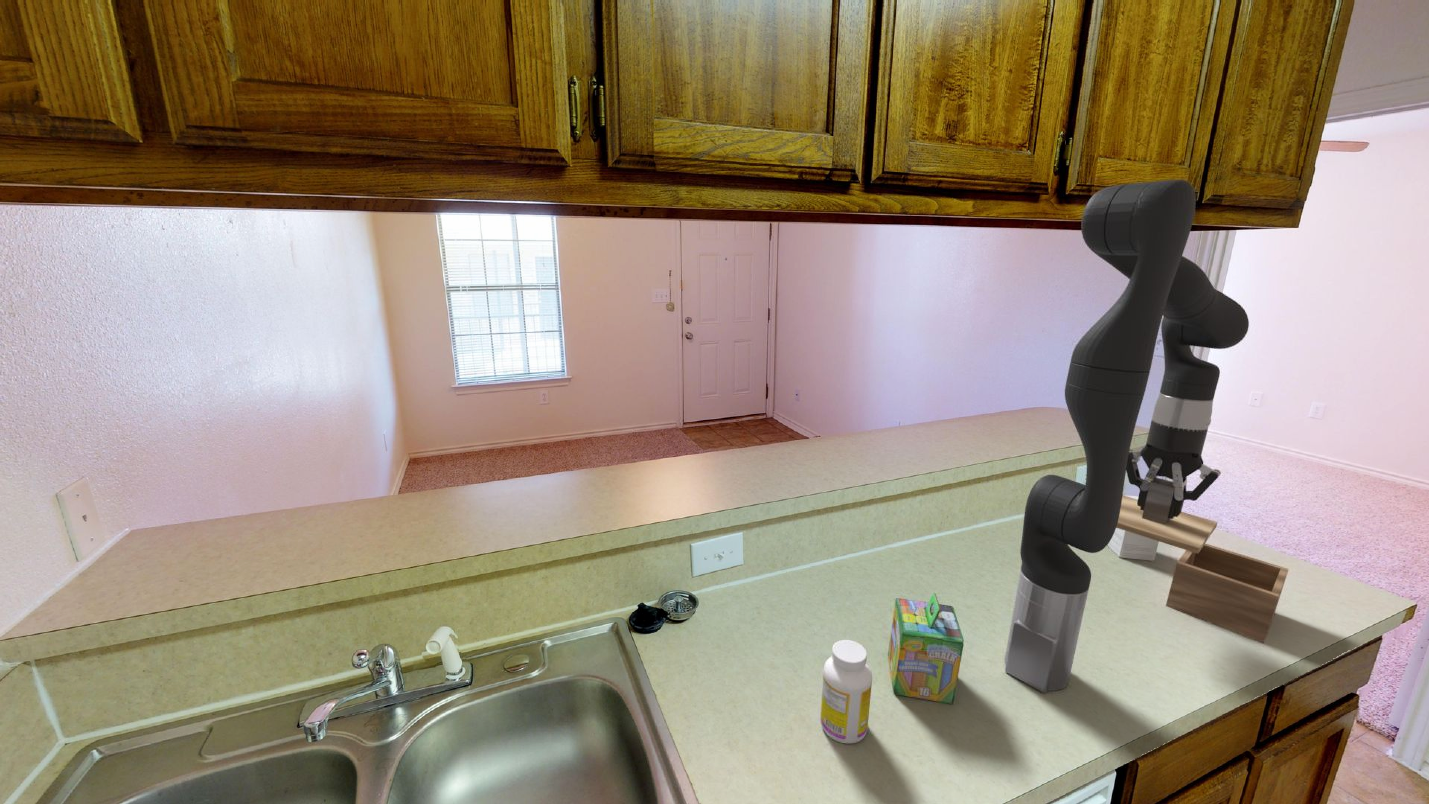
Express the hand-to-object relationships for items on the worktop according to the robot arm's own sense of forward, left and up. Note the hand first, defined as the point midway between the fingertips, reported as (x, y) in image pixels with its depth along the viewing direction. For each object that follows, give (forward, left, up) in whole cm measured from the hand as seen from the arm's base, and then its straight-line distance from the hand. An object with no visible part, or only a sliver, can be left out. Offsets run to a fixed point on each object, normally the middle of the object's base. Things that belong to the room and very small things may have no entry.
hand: (1157, 512), depth 99 cm
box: (+17, -10, -22) cm, 29 cm away
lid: (0, 0, -2) cm, 2 cm away
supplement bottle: (-63, +19, -22) cm, 69 cm away
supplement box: (+29, +8, -22) cm, 37 cm away
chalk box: (-46, +17, -22) cm, 54 cm away
